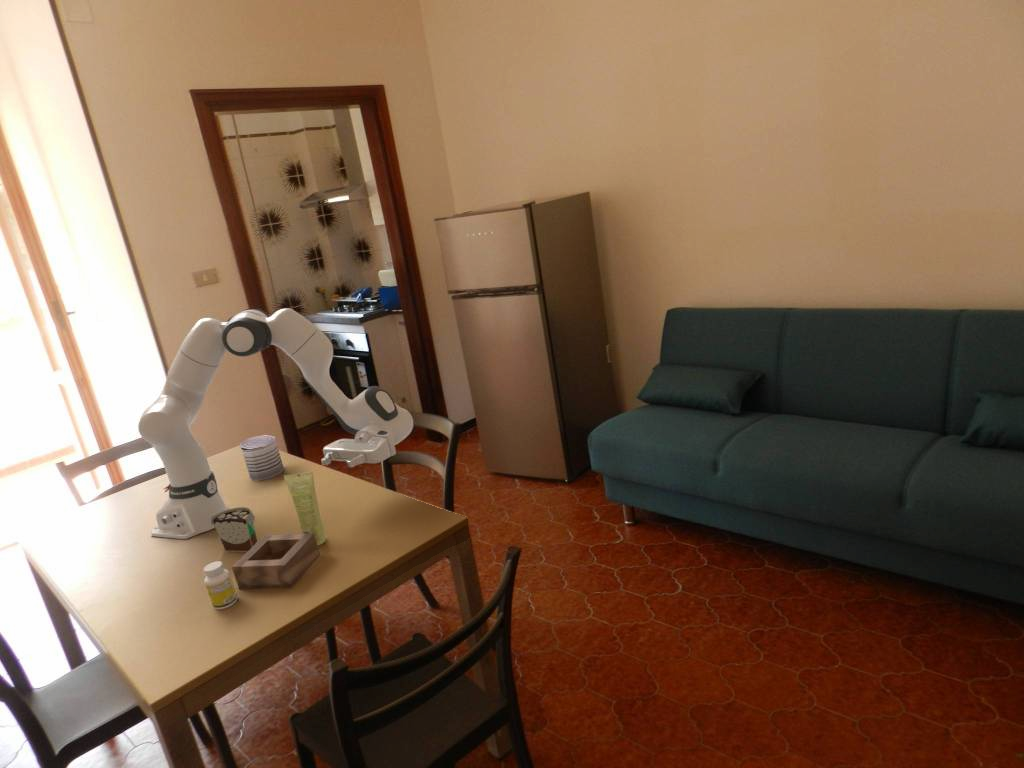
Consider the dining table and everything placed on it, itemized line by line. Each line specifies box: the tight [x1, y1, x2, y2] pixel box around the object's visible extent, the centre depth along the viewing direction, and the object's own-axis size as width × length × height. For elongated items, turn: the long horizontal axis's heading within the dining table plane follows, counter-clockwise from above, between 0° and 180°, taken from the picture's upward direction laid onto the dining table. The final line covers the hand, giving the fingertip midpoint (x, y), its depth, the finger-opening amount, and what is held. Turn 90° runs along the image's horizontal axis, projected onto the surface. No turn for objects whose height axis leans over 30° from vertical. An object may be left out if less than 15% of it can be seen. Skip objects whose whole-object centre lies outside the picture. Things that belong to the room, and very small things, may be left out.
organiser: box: [231, 533, 321, 590], centre depth 169 cm, size 14×14×6 cm
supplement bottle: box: [203, 560, 239, 610], centre depth 159 cm, size 5×5×10 cm
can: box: [239, 434, 285, 482], centre depth 234 cm, size 11×11×12 cm
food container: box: [211, 506, 258, 553], centre depth 185 cm, size 12×6×10 cm, turn 71°
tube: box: [283, 471, 327, 547], centre depth 178 cm, size 6×5×20 cm
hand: (335, 463), depth 186 cm, fingers open, 8 cm apart
